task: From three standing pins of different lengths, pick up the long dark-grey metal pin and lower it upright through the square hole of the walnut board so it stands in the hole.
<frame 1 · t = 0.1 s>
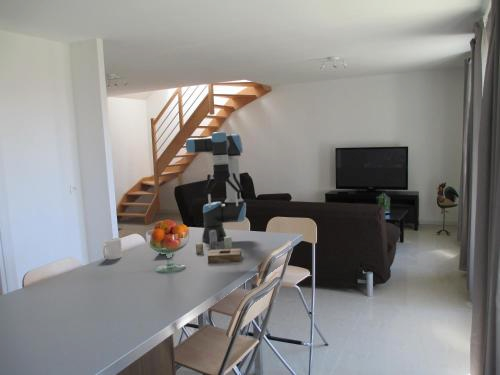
hand: (223, 206, 203), 28 cm above the counter, fingers open, 13 cm apart
short pin: (199, 252, 226), on the counter
flower pot: (165, 253, 229), on the counter
hole board: (225, 259, 209), on the counter
long pin: (214, 252, 226), on the counter
cup: (112, 259, 225), on the counter
medium pin: (228, 251, 225), on the counter
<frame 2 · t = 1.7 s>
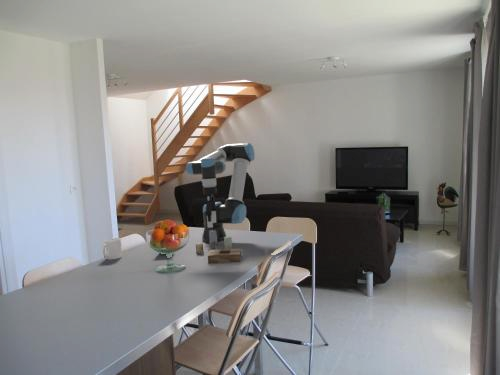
hand: (212, 225, 224), 15 cm above the counter, fingers open, 13 cm apart
nothing on the counter moved.
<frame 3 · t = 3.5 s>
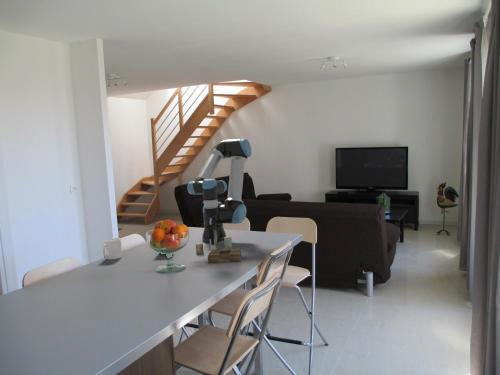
hand: (214, 249, 226), 2 cm above the counter, fingers closed on long pin, 4 cm apart
long pin: (214, 252, 226), on the counter, touching gripper
everything else where it was.
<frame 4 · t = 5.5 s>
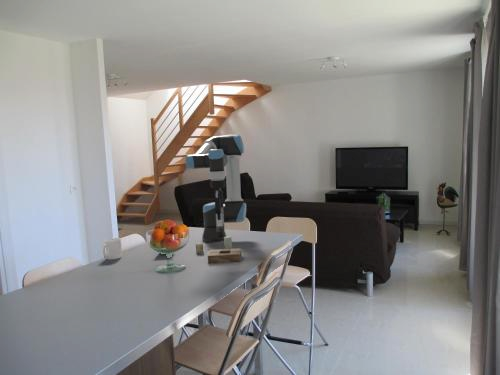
hand: (220, 225, 210), 18 cm above the counter, fingers closed on long pin, 4 cm apart
long pin: (220, 231, 210), point 15 cm above the counter, touching gripper
everything else where it was.
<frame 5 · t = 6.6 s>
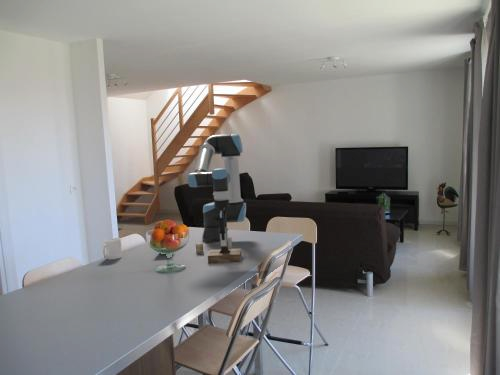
hand: (224, 244, 208), 8 cm above the counter, fingers closed on long pin, 4 cm apart
long pin: (224, 250, 209), point 5 cm above the counter, touching gripper
everything else where it was.
when the fingers open (5 cm above the counter, at t = 7.5 s): long pin drops 2 cm, resting in hole board.
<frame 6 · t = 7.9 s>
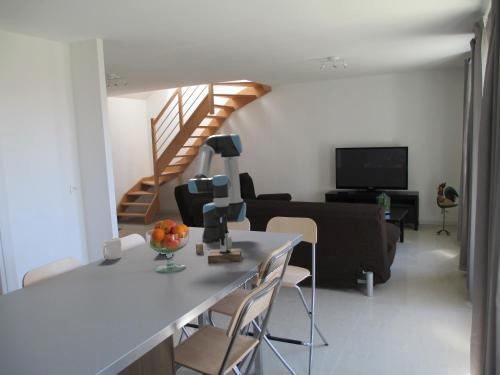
hand: (224, 248, 209), 6 cm above the counter, fingers open, 10 cm apart
long pin: (225, 259, 209), resting in hole board
everything else where it was.
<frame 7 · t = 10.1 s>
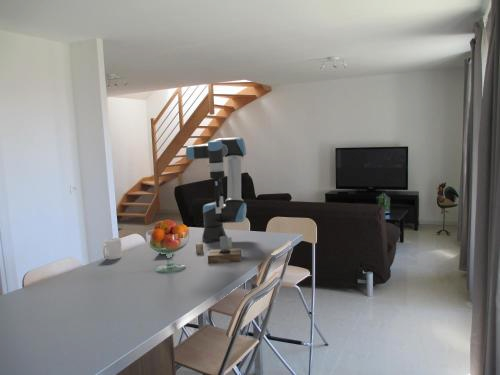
hand: (220, 210, 216), 24 cm above the counter, fingers open, 13 cm apart
nothing on the counter moved.
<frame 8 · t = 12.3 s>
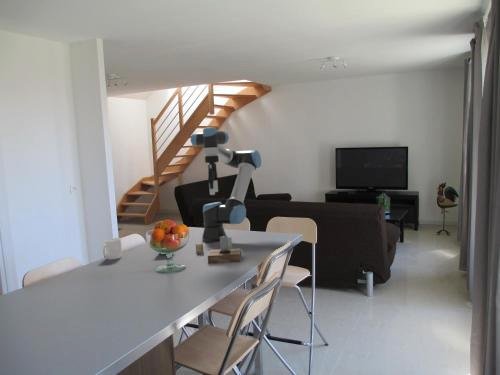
hand: (214, 193, 230), 32 cm above the counter, fingers open, 13 cm apart
nothing on the counter moved.
at the end: long pin 0.1 cm off-centre on the hole board, point 0.0 cm above the hole board's base; long pin tilted 0°; the gripper is holding nothing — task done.
